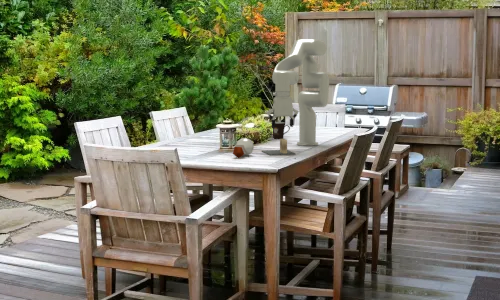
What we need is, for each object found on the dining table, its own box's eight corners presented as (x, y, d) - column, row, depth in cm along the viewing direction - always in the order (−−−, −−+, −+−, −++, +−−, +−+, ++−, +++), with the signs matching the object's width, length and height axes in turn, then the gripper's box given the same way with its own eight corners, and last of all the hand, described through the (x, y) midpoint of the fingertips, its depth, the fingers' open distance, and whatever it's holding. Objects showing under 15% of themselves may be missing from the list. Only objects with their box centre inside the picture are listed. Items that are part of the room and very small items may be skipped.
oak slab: (279, 139, 380) (283, 140, 375) (283, 138, 381) (287, 140, 375) (279, 152, 381) (283, 153, 375) (283, 151, 382) (287, 153, 376)
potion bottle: (250, 157, 378) (241, 164, 364) (235, 146, 379) (226, 153, 365) (259, 143, 374) (251, 150, 360) (244, 132, 375) (235, 139, 361)
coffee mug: (268, 138, 451) (268, 122, 450) (279, 137, 456) (279, 121, 455) (280, 140, 442) (280, 124, 440) (290, 139, 447) (290, 123, 445)
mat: (261, 151, 388) (261, 150, 388) (286, 150, 392) (286, 149, 392) (270, 155, 373) (270, 154, 373) (295, 154, 376) (295, 153, 376)
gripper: (268, 95, 372) (269, 128, 374) (300, 94, 376) (300, 127, 379) (264, 94, 379) (265, 126, 381) (295, 94, 384) (295, 125, 386)
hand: (282, 127), depth 380 cm, fingers open, 9 cm apart
